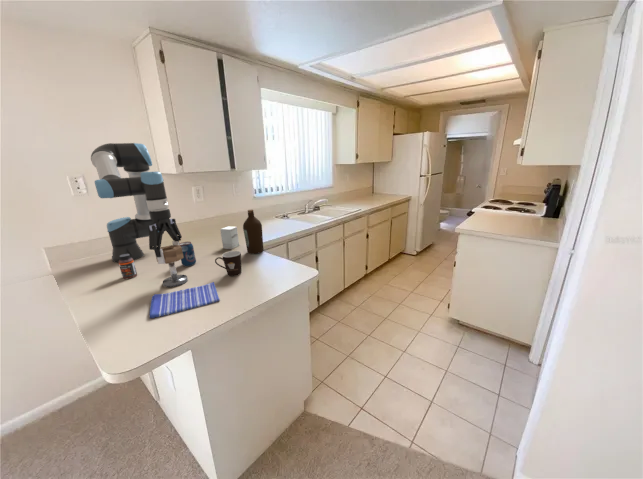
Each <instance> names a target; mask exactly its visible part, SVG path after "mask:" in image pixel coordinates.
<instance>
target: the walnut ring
mask: <svg viewBox="0 0 643 479" xmlns="http://www.w3.org/2000/svg"><path fill="white" fill-rule="evenodd" d="M160 249H162V250H163V255H164V259H165V264H168V263H172V262H174V263H175V262H179V261H181V259H182V258H184V256H183V252H182V247H181V246H180V245H173V244H170V245H165V246H161V247H160ZM155 257H156V256H155ZM156 262H157V263H158V259H157V257H156ZM165 264H164V265H165ZM168 265H169V264H168Z"/></svg>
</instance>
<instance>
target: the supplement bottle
mask: <svg viewBox="0 0 643 479" xmlns="http://www.w3.org/2000/svg"><path fill="white" fill-rule="evenodd" d="M119 257H120V260H119V262H117V263H118V266H119V270H120V273H121V276H122V278H123V279H125V280H128V279H133V278H135V277H137V275H138V272H137V268H136V264H135V260H133V258H131V257H130V255H129V254H123V255H120V256H119Z"/></svg>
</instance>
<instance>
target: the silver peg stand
mask: <svg viewBox="0 0 643 479" xmlns="http://www.w3.org/2000/svg"><path fill="white" fill-rule="evenodd" d="M168 267H169V273H170V276H169V277H167V278H165V279H164V280H162V285H163V287H164V288H168V289H169V288H176V287H179V286H183V285H184V284H186V283H187V282H188V281H189V278H188V275H186V274H178V272H177V269H176V264H175V262H172V263H168Z"/></svg>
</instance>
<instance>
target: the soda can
mask: <svg viewBox="0 0 643 479" xmlns="http://www.w3.org/2000/svg"><path fill="white" fill-rule="evenodd" d="M179 243H180V246H181V247H182V252H183V256H184V258H182V259H181V260H180V262H181V265H182V266H183V267H186V266H187V267H192V266H194V265H195V264H196V262H197V259H196V254H195V249H194V245H193V243H192V242H191V241H183V242H179Z"/></svg>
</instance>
